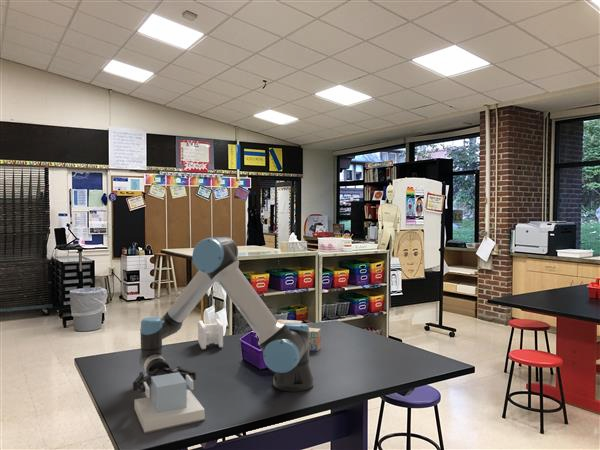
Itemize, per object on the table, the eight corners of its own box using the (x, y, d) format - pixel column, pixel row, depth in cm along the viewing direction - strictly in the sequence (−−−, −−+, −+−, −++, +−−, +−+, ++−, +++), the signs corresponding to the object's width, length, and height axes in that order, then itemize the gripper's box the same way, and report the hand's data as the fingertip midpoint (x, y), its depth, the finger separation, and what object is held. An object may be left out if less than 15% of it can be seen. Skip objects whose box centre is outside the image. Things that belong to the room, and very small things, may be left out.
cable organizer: (223, 349, 216) (223, 324, 216) (200, 351, 213) (200, 326, 212) (218, 340, 230) (218, 317, 230) (197, 342, 227) (196, 319, 226)
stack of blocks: (320, 347, 219) (321, 322, 219) (317, 351, 213) (317, 325, 213) (278, 343, 226) (278, 318, 225) (274, 347, 220) (274, 321, 219)
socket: (204, 420, 143) (204, 409, 143) (144, 433, 135) (144, 421, 135) (189, 399, 159) (189, 389, 159) (134, 410, 150) (134, 399, 150)
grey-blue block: (186, 415, 145) (186, 382, 144) (157, 421, 140) (157, 387, 140) (179, 403, 154) (178, 372, 153) (151, 408, 149) (150, 376, 149)
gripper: (191, 373, 168) (209, 393, 150) (119, 385, 157) (129, 409, 138) (191, 352, 168) (209, 370, 150) (119, 363, 156) (128, 384, 138)
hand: (171, 389), depth 144 cm, fingers open, 13 cm apart
